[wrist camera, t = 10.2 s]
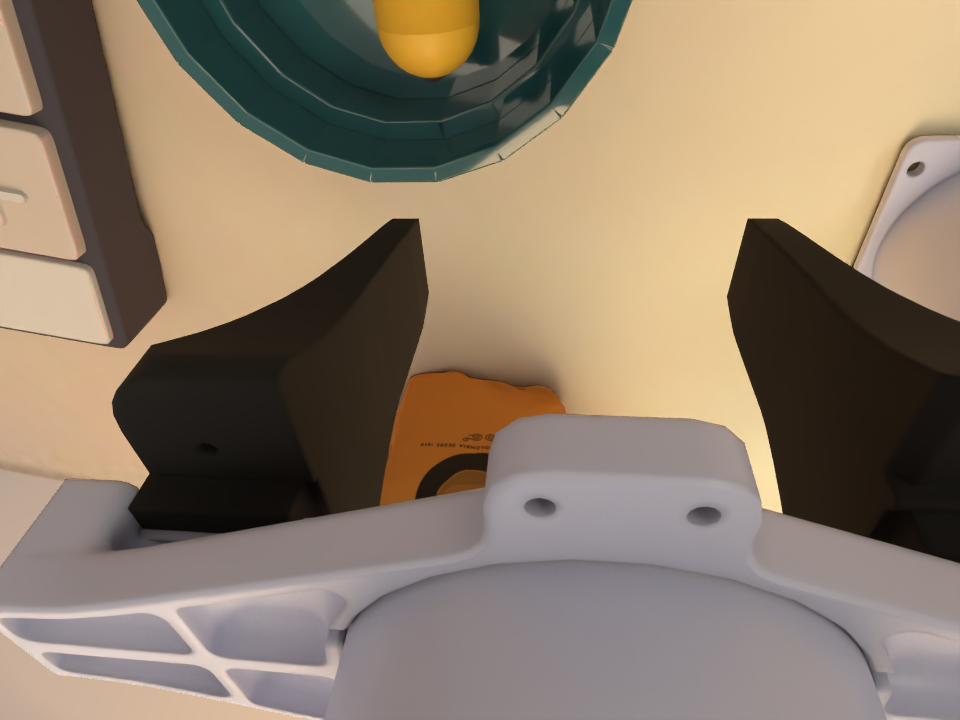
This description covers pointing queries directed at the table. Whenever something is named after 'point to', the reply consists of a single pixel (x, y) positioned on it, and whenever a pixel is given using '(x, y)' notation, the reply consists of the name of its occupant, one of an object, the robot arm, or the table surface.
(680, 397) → the table surface
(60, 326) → the calculator
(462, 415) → the coffee package
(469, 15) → the amber tube
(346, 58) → the teal bowl
